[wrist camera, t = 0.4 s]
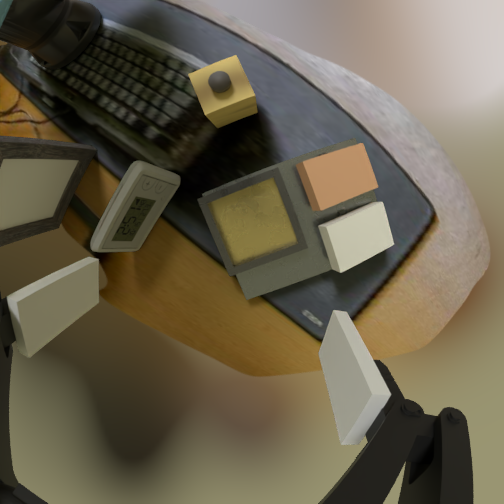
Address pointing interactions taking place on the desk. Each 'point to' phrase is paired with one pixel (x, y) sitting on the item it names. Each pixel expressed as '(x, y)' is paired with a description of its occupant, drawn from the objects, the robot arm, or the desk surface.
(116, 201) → the digital clock
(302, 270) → the panel
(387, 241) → the rocker plain
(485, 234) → the desk surface
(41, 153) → the picture frame
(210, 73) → the tan wooden block
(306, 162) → the orange tan rectangular block
